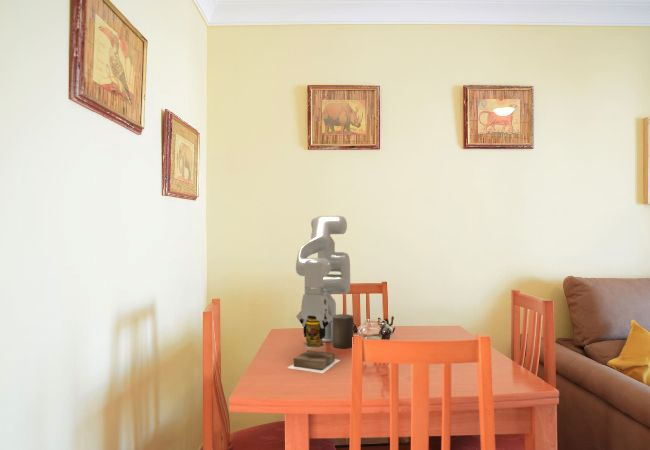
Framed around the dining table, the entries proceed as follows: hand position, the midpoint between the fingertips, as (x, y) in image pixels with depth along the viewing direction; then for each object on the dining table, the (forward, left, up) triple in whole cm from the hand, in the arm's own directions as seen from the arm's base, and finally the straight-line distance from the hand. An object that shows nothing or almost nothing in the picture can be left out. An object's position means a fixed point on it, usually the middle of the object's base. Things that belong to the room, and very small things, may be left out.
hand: (314, 336), depth 160 cm
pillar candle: (-31, 0, -12) cm, 33 cm away
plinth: (0, 0, -11) cm, 11 cm away
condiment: (0, 0, -4) cm, 4 cm away
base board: (0, 0, -11) cm, 11 cm away
